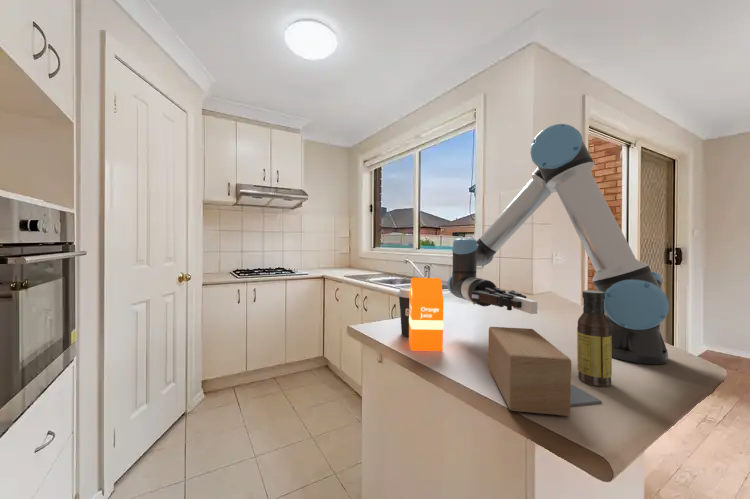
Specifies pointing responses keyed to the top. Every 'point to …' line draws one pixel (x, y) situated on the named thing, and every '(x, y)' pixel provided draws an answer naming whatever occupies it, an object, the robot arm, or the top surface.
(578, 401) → the mat
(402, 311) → the coffee cup
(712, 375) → the top surface
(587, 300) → the sauce bottle
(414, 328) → the orange juice
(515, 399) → the wooden block
